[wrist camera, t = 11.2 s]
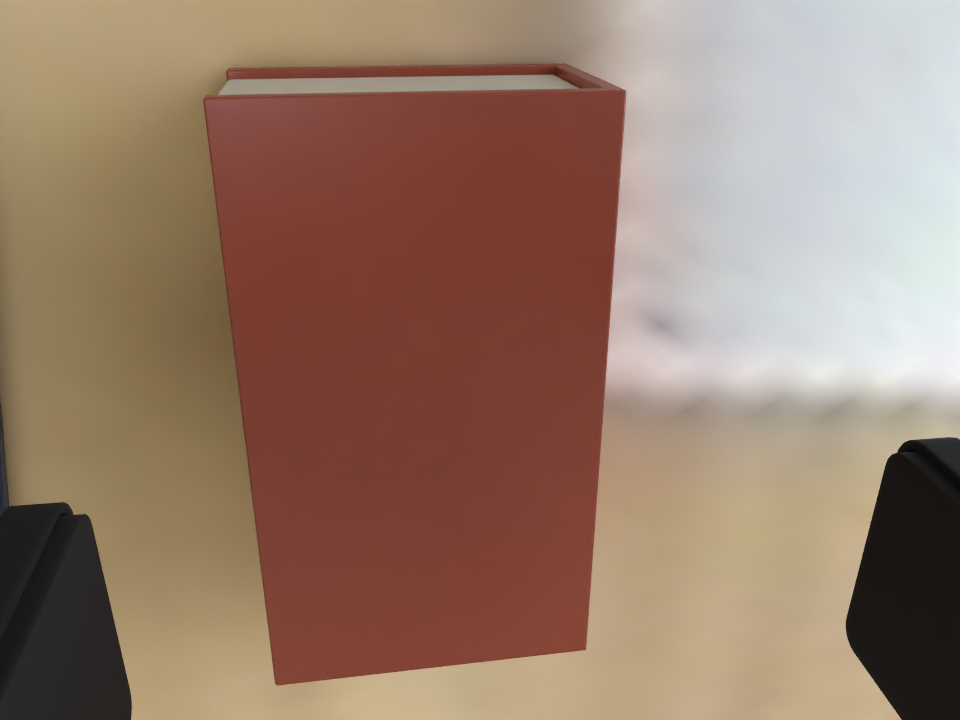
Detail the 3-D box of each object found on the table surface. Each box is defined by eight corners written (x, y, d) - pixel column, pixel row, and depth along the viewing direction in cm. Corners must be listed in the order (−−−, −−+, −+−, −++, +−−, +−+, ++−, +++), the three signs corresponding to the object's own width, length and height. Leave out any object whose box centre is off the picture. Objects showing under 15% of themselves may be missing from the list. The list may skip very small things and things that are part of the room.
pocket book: (567, 63, 16) (627, 89, 13) (546, 543, 21) (586, 650, 18) (227, 67, 16) (202, 97, 12) (282, 569, 20) (275, 686, 17)
